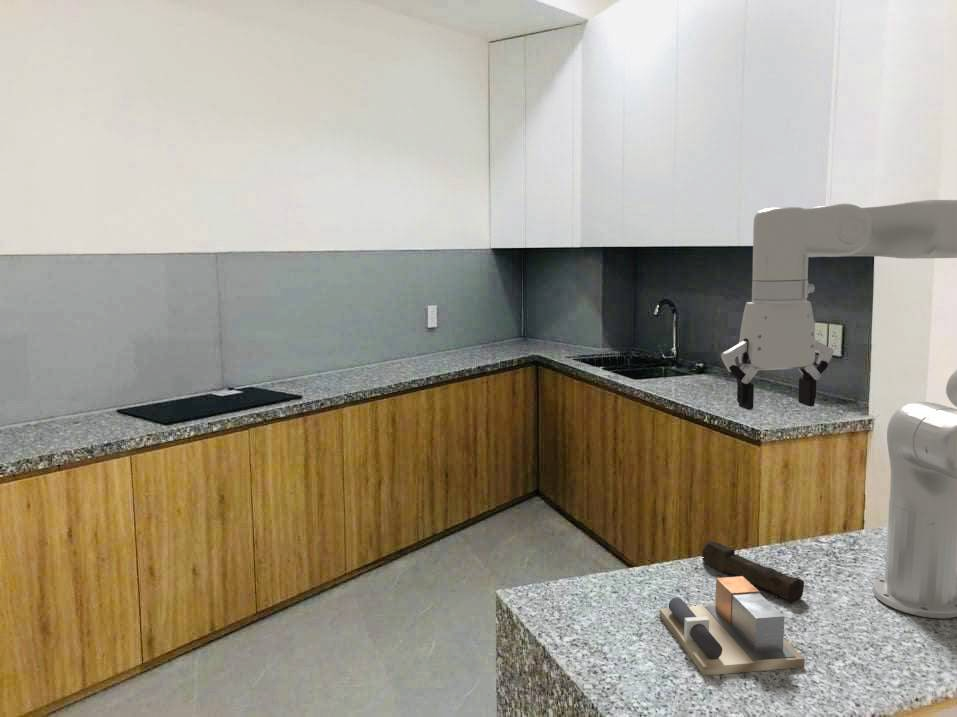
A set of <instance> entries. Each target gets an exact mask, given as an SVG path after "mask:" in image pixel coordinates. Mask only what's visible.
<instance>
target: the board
mask: <svg viewBox="0 0 957 717" xmlns="http://www.w3.org/2000/svg"><path fill="white" fill-rule="evenodd" d="M688 607H689V608H690V610H691V611H692V612H693V613H694V614H695V616H696V617H703V616H707V618H708V619H709V632H710V633H711V635H712V636H713V637H714V638H715V639H716V640H717V642H718V643H719V644H720V645H721V647H722V654H721V656H720V657H719V658H717V659H714V660H712V659H709V658H707V657H706V655H705V654H704V653H703V651H702V650H701V649H700V648H699V646H698V645H697V644H696V642H695V641H694V640H691V641H687V640H686V639H685V638H684V627H683V626H682V625H681V623H680V622H679V621H678V619H677V618H676V617H675V616H674V614H673V613H672V612H671V611H670V609H669V607H665V608H659V617H660V619H661V620H662V621H663V623H664V624H665V626H666V627H667V628H668V629H669V631H670V632H671V634H672V635H673V636H674V638H675V639H676V640H677V641H678V643H679V644H680V645H681V647H682V648H683V649H684V651H685V652H686V654H687V656H689V658H690V659H691V661H692V662H693V663H694V664H695V666H696V668H697V669H698V670H699V671H700V673H701V674H702V675H703V676H713V675H714V676H715V675H716V676H717V675H725V674H727V675H728V674H737V673H738V674H739V673H747V672H748V673H750V672H751V673H752V672H761V671H762V672H763V671H775V670H783V669H797V668H805V665H806V664H805V662H806V659H805V657H804V656H803V655H802V654H801V653H799V651H798V650H796V649H795V648H794V647H793V645H791V643H789V642H788V641H787V640H786V639H785V638H784V639H783V651H777V652H764V653H754V652H753V651H752V650H751V648H750V647H749V646H748V645H747V644H746V643H745V642H744V641H743V640H742V639H741V637H740V636H739V635H738V634H737V633H736V632H735V631H734V630H733V629H732V628H731V627H730V626H729V625H728V624H727V623H726V622H725V621H724V620H723V618H722V617H721V616H720V615H719V614H718V613H717V612H716V611H715V604H707V605H706V604H705V605H693V606H692V605H691V606H688Z"/></svg>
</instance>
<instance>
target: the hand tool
mask: <svg viewBox="0 0 957 717" xmlns="http://www.w3.org/2000/svg"><path fill="white" fill-rule="evenodd" d="M702 557H704V558H702ZM701 558H702V559H701V560H702V562H703V563H705V565H707V566H709V567H710V568H711V569H713V570H716V571H717V572H719V573H721V574H723V575H729V574H731V575H733V576H734V577H739V576H743V577H744V578H745V579H746V580H748V581H749V582H750V583H751V584H752V585H755V586H757V587H760V588H761V589H764V590H766V591H768V592H771V593H773V594H775V595H776V596H779V597H782V598H784V599H786V601H787V603H788V604H789V605H791V604H794V603H797V602H798V601H800V600H801V599H802V597H803V594H804V589H805V581H804V580H803V579H802V578H799V577H793V576H789V575H786V573H785V574H784V573H782V571H779V570H778V571H777V570H776V569H775V568H772V567H768V566H764V565H763V564H759V563H758V562H755V561H752V560H750V559H747V558H745V557H743V556H741V555H738V554H736V553H735V549H734V548H732V547H730V546H727V545H724V544H722V543H720V542H715V541H714V540H713V541H712V540H710V541H708V542H706V543H705V544H704V547H703V548H702V553H701Z"/></svg>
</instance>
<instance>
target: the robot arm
mask: <svg viewBox="0 0 957 717" xmlns="http://www.w3.org/2000/svg"><path fill="white" fill-rule="evenodd" d="M752 233H753V234H752V235H753V236H752V238H753V239H752V241H753V242H752V244H753V245H752V279H751V280H752V282H751V283H752V284H751V285H752V286H751V287H752V288H751V291H752V292H751V301H749V302H748V301H747V302H746V303H745V307H744V310H743V314H742V320H741V325H740V332H739V333H740V335H739V342H738V344H736V345H734V346H732V347H731V348H729V349H727V350H725V351H723V352H722V353H721V354H720V358H721V361H722V362H723V364H724V366H725V368H726V369H725V370H726V372H728V374H730V375H731V376H732V377H733V380H735V381H737V385H736V387H737V388H736V389H737V390H736V392H737V393H736V400H737V403H738V407H740V408H742V409H745V410H746V411H751V410H753V409H754V398H755V397H754V394H755V392H754V391H755V390H754V389H755V387H754V386H755V385H754V383H752V382H751V380H752V379H753V378H754V377H755V376H756V375H757V373H758V372H759V371H773V370H774V371H775V370H777V371H778V370H791V369H792V370H793V369H794V370H795V369H797V370H798V371H799V372H800V374H801V375H802V376H800V377H799V379H798V399H797V400H798V403H800V404H802V405H805V406H808V407H814V406H815V401H816V400H815V399H817V398H816V397H817V381H818V380H820V379H821V375H822V373H824V371H826V369H827V368H828V367H829V362H830V361H831V359H832V357H833V356H834V353H835V350H834V349H833V348H832V347H829V346H827V345H826V344H823V343H821V342H820V341H818V340H816V328H815V318H814V312H813V308H812V304H811V303H812V302H811V301H809V300H808V297H809V294H810V293H814V292H815V285H814V284H813V283H809V280H808V279H809V278H808V276H809V273H808V271H809V258H819V257H820V258H823V257H828V258H833V257H834V258H835V257H836V258H838V257H839V258H841V257H880V258H881V257H882V258H883V257H884V258H893V259H894V258H895V259H907V260H908V259H909V260H910V259H913V260H914V259H957V199H928V200H927V199H925V200H915V201H906V202H901V203H896V204H888V205H881V206H870V207H869V206H868V207H861V206H858V205H855V204H851V203H836V204H828V205H822V206H814V207H810V208H809V207H808V208H803V207H800V206H782V207H781V206H780V207H770V208H769V207H768V208H764V209H761V210H758V211H757V213H755V215H754V218H753V232H752ZM816 352H817V353H818V357H817V359H816V360H815V357H816ZM737 357H738V363H739V364H740V365H741V366H740V367H739V366H738V365H737V362H736V358H737ZM945 393H946V396H947V398H948V400H949V402H950V403H951V404H952V405H953V406H954V407H956V408H957V368H956V369H955V371H953V373H952V374H951V375H950V376H949V378H948V380H947V382H946V386H945ZM956 408H953V407H949V406H946V405H943V404H939V403H934V402H930V401H929V402H928V401H914V402H910V403H906V404H905V405H903V406H901V407H900V408H898V409H897V410H895V411H894V413H893V415H892V416H891V417H890V419H889V421H888V424H887V428H886V429H887V430H886V443H887V451H888V457H889V466H890V468H889V470H890V490H889V501H888V502H889V504H888V517H887V518H888V519H887V520H888V521H887V532H886V533H887V534H886V536H887V537H886V547H885V548H886V551H885V564H884V565H885V567H884V568H885V570H884V577H880V578H878V579H877V580H875V581H874V582H873V586H872V593H873V595H874V596H875V598H877V599H878V600H879V601H880V602H882V604H884V605H886V606H888V607H890V608H892V609H895V610H898V611H899V612H902V613H905V614H908V615H909V614H910V615H912V616H913V615H914V616H917V617H923V618H931V619H953V618H956V617H957V409H956Z"/></svg>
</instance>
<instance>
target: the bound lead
mask: <svg viewBox="0 0 957 717" xmlns="http://www.w3.org/2000/svg"><path fill="white" fill-rule="evenodd" d="M668 608H669V609H670V611H671V612H672V613H673V614H674V616H675V617H676V618H677V619H678V621H679V622H680V623H681V625H682V626H683V627H684V638H685V639H686V640H687V641H691V640H694V641H695V642H696V644H697V645H698V646H699V648H700V649H701V650H702V651H703V653H704V654H705V655H706V657H707V658H709V659H712V660H714V659H717V658H719V657H720V656H721V654H722V647H721V645H720V644H719V643H718V642H717V640H716V639H715V638H714V637H713V636H712V635H711V633H710V632H709V619H708V618H707V616H703V617H696V616H695V614H694V613H693V612H692V611H691V610H690V608H689V606H688V605H687V603H686V602H685V601H684V600H683V599H682V598H681V597H679V596H678V597H673V598H671V599H670V600H669V602H668Z"/></svg>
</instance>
